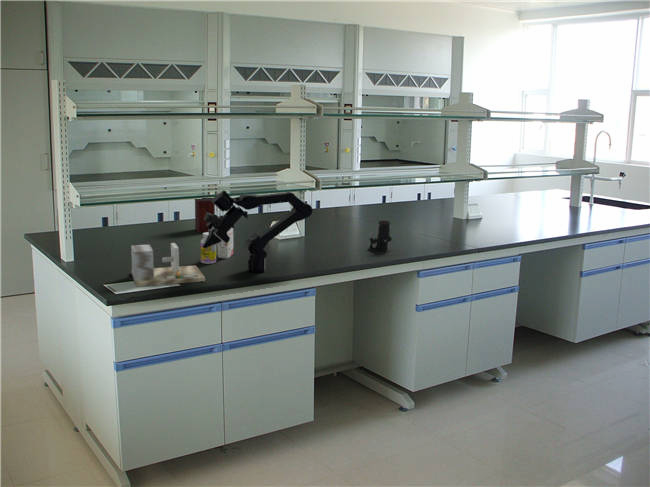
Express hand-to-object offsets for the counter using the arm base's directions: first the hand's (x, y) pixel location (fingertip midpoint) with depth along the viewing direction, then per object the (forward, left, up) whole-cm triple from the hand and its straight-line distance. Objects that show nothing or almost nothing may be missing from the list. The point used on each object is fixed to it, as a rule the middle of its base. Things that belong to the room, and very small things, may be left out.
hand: (203, 247), depth 260 cm
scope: (-73, -57, -12) cm, 93 cm away
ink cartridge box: (-2, -32, -12) cm, 34 cm away
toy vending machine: (+20, -85, -12) cm, 88 cm away
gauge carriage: (+11, +8, -9) cm, 17 cm away
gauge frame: (+13, +6, -11) cm, 18 cm away
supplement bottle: (+3, -20, -12) cm, 23 cm away
